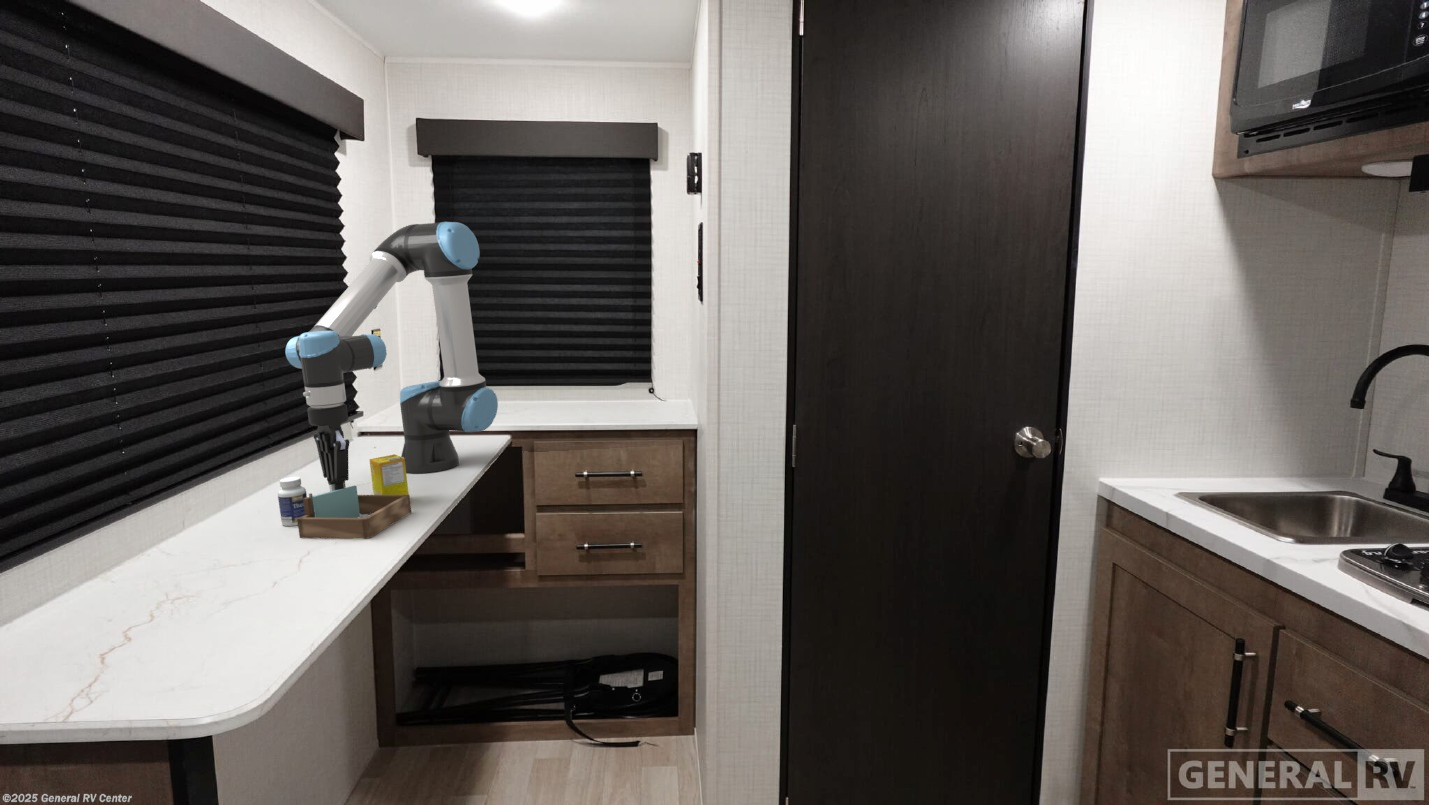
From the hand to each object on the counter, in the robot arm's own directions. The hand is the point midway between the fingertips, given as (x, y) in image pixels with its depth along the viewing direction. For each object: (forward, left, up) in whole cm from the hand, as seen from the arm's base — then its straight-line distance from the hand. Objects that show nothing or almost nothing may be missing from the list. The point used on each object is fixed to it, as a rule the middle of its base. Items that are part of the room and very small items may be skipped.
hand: (340, 510), depth 169 cm
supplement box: (-11, +6, -2) cm, 13 cm away
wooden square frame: (+4, +6, -2) cm, 7 cm away
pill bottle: (+3, -9, -2) cm, 9 cm away
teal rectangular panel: (+3, +2, -2) cm, 4 cm away
